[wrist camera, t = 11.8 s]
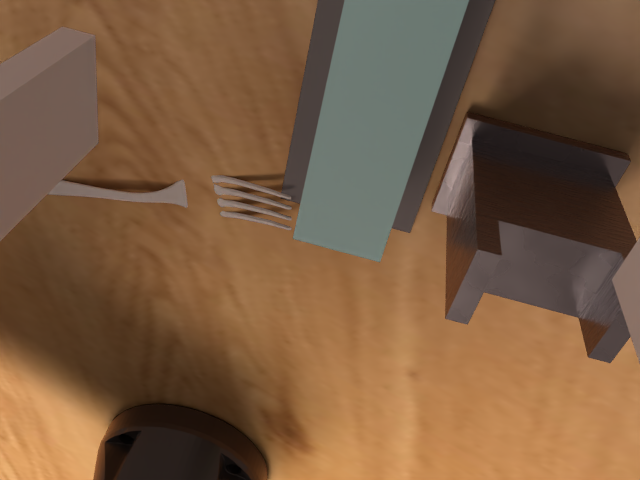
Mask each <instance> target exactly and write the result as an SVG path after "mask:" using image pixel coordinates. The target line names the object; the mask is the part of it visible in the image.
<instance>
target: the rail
mask: <svg viewBox="0 0 640 480" xmlns="http://www.w3.org/2000/svg"><path fill="white" fill-rule="evenodd" d="M468 2H469V0H344V5H343V10H342V14H341V19H340V23H339V28H338V33H337V37H336V42H335V46H334V51H333V56H332V60H331V65H330V70H329V74H328V79H327V83H326V88H325V93H324V97H323V102H322V106H321V111H320V116H319V120H318V125H317V129H316V134H315V139H314V143H313V148H312V152H311V157H310V162H309V166H308V171H307V175H306V180H305V185H304V189H303V194H302V199H301V203H300V208H299V212H298V217H297V222H296V226H295V231H294V235H293V239H295V240H299V241H303V242H306V243H310V244H314V245H318V246H321V247H325V248H329V249H332V250H336V251H340V252H344V253H347V254H351V255H355V256H359V257H362V258H366V259H370V260H373V261H377V262H380V260H381V257H382V255H383V252H384V249H385V246H386V243H387V240H388V237H389V234H390V231H391V228H392V225H393V222H394V219H395V216H396V213H397V211H398V208H399V205H400V202H401V199H402V196H403V193H404V190H405V187H406V184H407V181H408V178H409V175H410V172H411V170H412V167H413V164H414V161H415V158H416V155H417V152H418V149H419V146H420V143H421V140H422V137H423V134H424V131H425V128H426V126H427V123H428V120H429V117H430V114H431V111H432V108H433V105H434V102H435V99H436V96H437V93H438V90H439V87H440V84H441V82H442V79H443V76H444V73H445V70H446V67H447V64H448V61H449V58H450V55H451V52H452V49H453V46H454V43H455V41H456V38H457V35H458V32H459V29H460V26H461V23H462V20H463V17H464V14H465V11H466V8H467V5H468Z"/></svg>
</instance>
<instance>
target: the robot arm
mask: <svg viewBox="0 0 640 480" xmlns="http://www.w3.org/2000/svg"><path fill="white" fill-rule="evenodd" d="M97 144H98V110H97V76H96V42H95V35H92V34H89V33H85V32H81V31H77V30H73V29H69V28H66V27H61V28H59V29H57V30H56V31H54V32H52V33H51V34H49V35H47V36H46V37H44V38H42V39H41V40H39V41H38V42H36V43H34V44H33V45H31V46H29V47H28V48H26V49H24V50H23V51H21V52H19V53H18V54H16V55H14V56H13V57H11V58H9V59H8V60H6V61H4V62H3V63H1V64H0V241H1V240H2V239H3V238H4V237H5V236H6V235H7V234H8V233H9V232H10V231H11V230H12V229H13V228H14V227H15V226H16V225H17V224H18V223H19V222H20V221H21V220H22V219H23V218H24V217H25V216H26V215H27V214H28V213H29V212H30V211H31V210H32V209H33V208H34V207H35V206H36V205H37V204H38V203H39V202H40V201H41V200H42V199H43V198H44V197H45V196H46V195H47V194H48V193H49V192H50V191H51V190H52V189H53V188H54V187H55V186H56V185H57V184H58V183H59V182H60V181H61V180H62V179H63V178H64V177H65V176H66V175H67V174H68V173H69V172H70V171H71V170H72V169H73V168H74V167H75V166H76V165H77V164H78V163H79V162H80V161H81V160H82V159H83V158H84V157H85V156H86V155H87V154H88V153H89V152H90V151H91V150H92V149H93V148H94V147H95V146H96V145H97ZM612 281H613V284H614V287H615V290H616V294H617V297H618V300H619V303H620V306H621V309H622V312H623V315H624V318H625V321H626V324H627V327H628V330H629V333H630V336H631V339H632V342H633V345H634V348H635V351H636V354H637V357H638V360H639V363H640V238H639V239H638V241H637V242H636V244H635V245H634V247H633V248H632V250H631V251H630V253H629V254H628V256H627V257H626V259H625V260H624V262H623V263H622V265H621V266H620V268H619V269H618V271H617V272H616V274H615V275H614V277H613V278H612ZM93 480H267V467H266V464H265V461H264V459H263V457H262V455H261V454H260V452H259V451H258V449H257V448H256V447H255V446H254V444H253V443H252V442H251V441H250V440H249V439H248V438H246V437H245V436H244V435H243V434H242V433H240V432H239V431H238V430H236V429H235V428H233V427H232V426H230V425H228V424H227V423H225V422H223V421H221V420H219V419H217V418H215V417H213V416H210V415H208V414H205V413H202V412H200V411H196V410H193V409H189V408H185V407H180V406H174V405H162V404H153V405H143V406H138V407H134V408H131V409H128V410H126V411H124V412H122V413H121V414H119V415H118V416H117V417H116V418H115V419H114V420H113V421H112V423H111V424H110V426H109V428H108V430H107V432H106V434H105V436H104V438H103V439H102V441H101V444H100V446H99V450H98V455H97V461H96V467H95V473H94V479H93Z"/></svg>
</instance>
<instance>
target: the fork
mask: <svg viewBox="0 0 640 480" xmlns="http://www.w3.org/2000/svg"><path fill="white" fill-rule="evenodd" d="M211 178H212V181H213V183H214V182H216V183H219V182H225V183H231V184H237V185H240V186H244V187H247V188H251V189H254V190H258V191H262V192H265V193H269V194H272V195H275V196H279V197H282V198H286V199H291V196H289V195H286V194H283V193H280V192H277V191H275V190H272V189H269V188H266V187H263V186H260V185H256V184H253V183H249V182H246V181H243V180H239V179H236V178H232V177H227V176H223V175H217V176H212V177H211ZM214 190H215V192H216V194H218V195H223V194H225V195H233V196H239V197H243V198H247V199H251V200H255V201H259V202H263V203H267V204H270V205H274V206H278V207H281V208H285V209H288V210H291V206H288V205H285V204H282V203H279V202H276V201H273V200H271V199H267V198H264V197H260V196H256V195H253V194H249V193H245V192H242V191H238V190H234V189H231V188H223V187H220V186H219V185H215V184H214ZM47 195H66V196H82V197H95V198H105V199H113V200H122V201H131V202H152V203H171V204H177V205H180V206H183V207H186V208H187V206H188V203H187V196H186V189H185V183H184V180H180V181H177V182H175V183H174V184H173V185H171V186H169V187H167V188H165V189H162V190H159V191H154V192H145V193H135V192H125V191H117V190H111V189H105V188H100V187H94V186H89V185H84V184H79V183H74V182H69V181H64V180H61V181H60V182H59V183H58V184H57V185H56V186H55V187H54V188H53V189H52V190H51V191H50V192H49V193H48V194H47ZM217 202H218V205H219V206H221V207H225V206H226V207H237V208H242V209H247V210H251V211H255V212H259V213H263V214H268V215H272V216H275V217H279V218H282V219H286V220H291V217H289V216H286V215H283V214H280V213H277V212H274V211H271V210H268V209H264V208H260V207H256V206H252V205H249V204H245V203H241V202H237V201H232V200H224V199H222V198H219V199H218V200H217ZM220 215H221V216H223V217H230V218H239V219H244V220H248V221H253V222H258V223H263V224H267V225H271V226H275V227H279V228H283V229H287V230H291V227H290V226H287V225H283V224H280V223H277V222H274V221H271V220H267V219H263V218H258V217H254V216H250V215H245V214H241V213H236V212H225V211H222V212H220Z"/></svg>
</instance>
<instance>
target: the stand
mask: <svg viewBox="0 0 640 480" xmlns="http://www.w3.org/2000/svg"><path fill="white" fill-rule="evenodd" d="M630 162H631V160H630V158H629V156H628V154H626V153H623V152H619V151H615V150H611V149H607V148H604V147H600V146H596V145H592V144H588V143H585V142H581V141H577V140H573V139H569V138H566V137H562V136H558V135H554V134H550V133H547V132H543V131H539V130H535V129H531V128H528V127H524V126H520V125H516V124H512V123H509V122H505V121H501V120H497V119H493V118H490V117H486V116H482V115H478V114H474V113H471V112H467V113H466V115H465V118H464V121H463V123H462V126H461V128H460V131H459V134H458V136H457V139H456V142H455V144H454V147H453V149H452V152H451V155H450V157H449V160H448V163H447V165H446V168H445V170H444V173H443V176H442V178H441V181H440V184H439V186H438V189H437V191H436V194H435V197H434V199H433V202H432V210H431V211H433V212H436V213H440V214H444V215H447V244H446V305H445V319H449V320H452V321H456V322H460V323H463V324H467V325H468V323H469V321H470V319H471V317H472V315H473V313H474V311H475V309H476V307H477V305H478V303H479V301H480V299H481V297H482V295H483V293H484V292H485V293H489V294H493V295H496V296H500V297H504V298H508V299H511V300H515V301H519V302H522V303H526V304H530V305H534V306H537V307H541V308H545V309H548V310H552V311H556V312H560V313H563V314H567V315H571V316H574V317H578V318H579V321H580V325H581V330H582V334H583V338H584V342H585V347H586V351H587V355H588V357H589V358H593V359H597V360H600V361H604V362H608V363H611V362H612V360H613V359H614V358H615V356H616V355H617V354H618V352H619V351H620V350H621V348H622V347H623V346H624V344H625V343H626V342H627V340H628V339H629V338H630V337H631V336H630V333H629V330H628V327H627V324H626V321H625V318H624V315H623V312H622V309H621V306H620V303H619V300H618V297H617V294H616V290H615V287H614V284H613V281H612V278H613V277H614V275H615V274H616V272H617V271H618V269H619V268H620V266H621V265H622V263H623V262H624V260H625V259H626V257H627V256H628V254H629V253H630V251H631V250H632V248H633V247H634V245H635V244H636V242H637V241H636V238H635V236H634V233H633V231H632V228H631V226H630V223H629V221H628V218H627V216H626V213H625V211H624V208H623V206H622V203H621V201H620V198H619V196H618V193H617V191H616V188H615V187H616V185H617V184H618V182H619V180H620V179H621V177H622V175H623V174H624V172H625V170H626V168H627V167H628V165H629V163H630Z"/></svg>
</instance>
